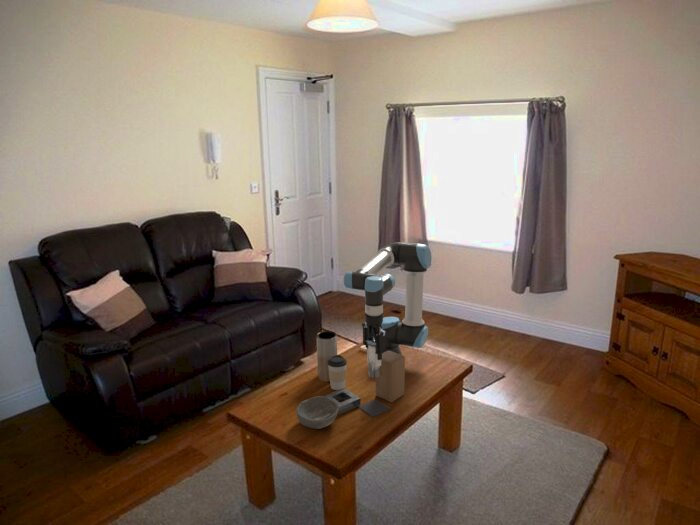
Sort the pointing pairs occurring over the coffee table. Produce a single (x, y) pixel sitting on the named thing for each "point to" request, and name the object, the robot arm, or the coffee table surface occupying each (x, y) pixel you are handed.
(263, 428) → the coffee table surface
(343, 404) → the frame
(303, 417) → the bowl
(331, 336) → the planter
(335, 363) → the coffee cup
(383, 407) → the mat
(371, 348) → the silver domed cylinder
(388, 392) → the wooden block
